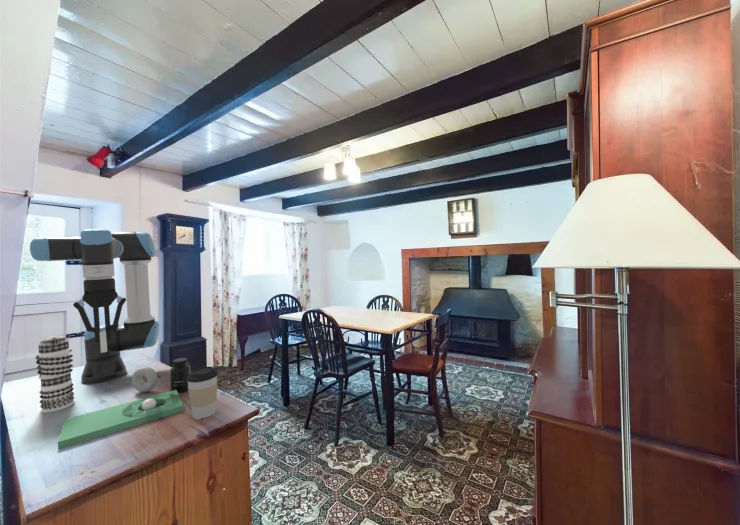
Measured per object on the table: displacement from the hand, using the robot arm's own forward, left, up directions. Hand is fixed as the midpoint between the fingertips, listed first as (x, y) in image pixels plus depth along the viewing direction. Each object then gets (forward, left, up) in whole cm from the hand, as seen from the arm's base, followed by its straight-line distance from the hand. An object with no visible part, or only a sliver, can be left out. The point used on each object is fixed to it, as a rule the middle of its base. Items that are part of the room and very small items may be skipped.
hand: (104, 351), depth 98 cm
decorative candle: (-26, -14, -23) cm, 38 cm away
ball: (+2, +11, -21) cm, 23 cm away
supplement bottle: (-10, +22, -23) cm, 33 cm away
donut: (-18, +11, -23) cm, 31 cm away
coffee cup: (+17, +25, -23) cm, 38 cm away
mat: (+2, +5, -23) cm, 23 cm away
